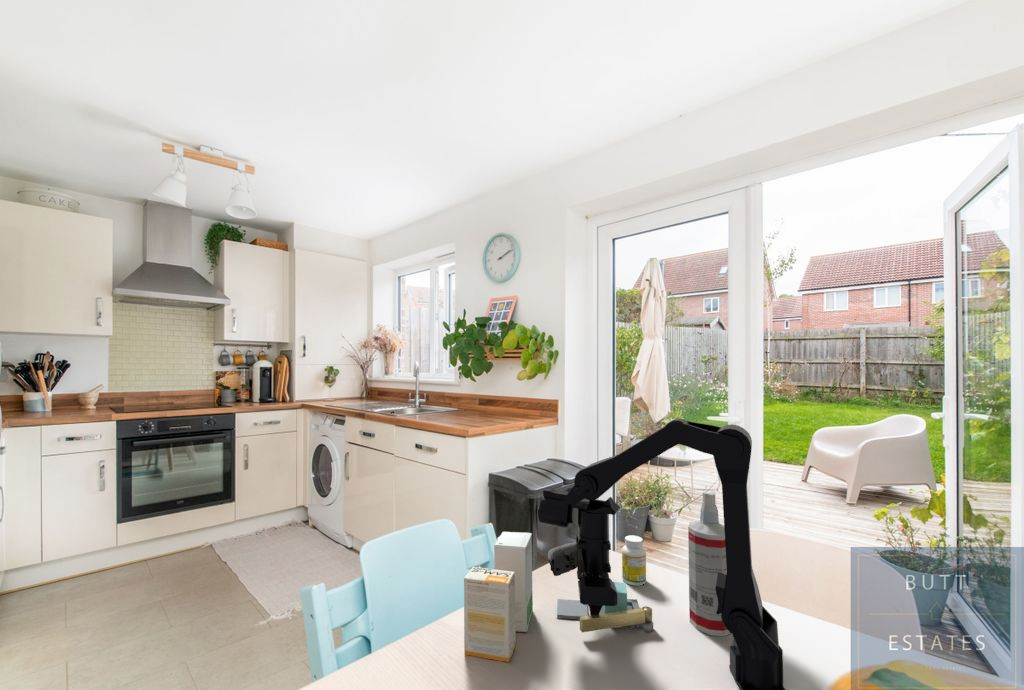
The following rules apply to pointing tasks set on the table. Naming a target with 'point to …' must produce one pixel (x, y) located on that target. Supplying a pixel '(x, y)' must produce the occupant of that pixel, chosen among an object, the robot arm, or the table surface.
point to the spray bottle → (706, 568)
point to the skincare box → (517, 572)
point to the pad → (571, 609)
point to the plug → (619, 602)
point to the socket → (635, 605)
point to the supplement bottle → (634, 561)
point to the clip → (616, 619)
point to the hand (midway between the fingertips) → (594, 617)
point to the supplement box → (489, 613)
